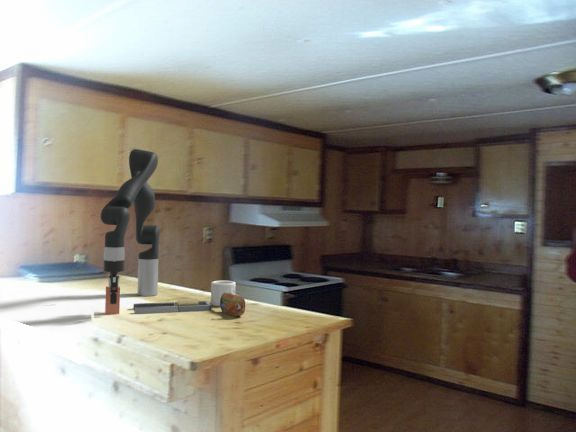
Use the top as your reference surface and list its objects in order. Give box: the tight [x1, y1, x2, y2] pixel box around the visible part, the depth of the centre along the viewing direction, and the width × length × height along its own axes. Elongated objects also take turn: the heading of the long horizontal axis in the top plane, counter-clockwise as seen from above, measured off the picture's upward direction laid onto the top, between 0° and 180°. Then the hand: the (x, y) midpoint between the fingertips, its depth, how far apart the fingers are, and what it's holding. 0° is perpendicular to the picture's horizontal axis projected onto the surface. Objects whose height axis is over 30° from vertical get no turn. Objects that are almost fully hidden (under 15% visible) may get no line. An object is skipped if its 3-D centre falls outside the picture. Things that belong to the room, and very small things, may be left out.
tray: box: [174, 300, 213, 313], centre depth 199 cm, size 10×13×3 cm
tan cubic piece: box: [176, 298, 189, 307], centre depth 198 cm, size 4×4×4 cm
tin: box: [220, 293, 246, 317], centre depth 195 cm, size 15×3×8 cm, turn 40°
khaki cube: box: [186, 298, 199, 306], centre depth 199 cm, size 4×4×4 cm
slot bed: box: [132, 301, 179, 315], centre depth 194 cm, size 10×16×3 cm, turn 112°
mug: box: [210, 280, 237, 308], centre depth 216 cm, size 14×11×10 cm
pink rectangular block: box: [104, 285, 121, 316], centre depth 186 cm, size 4×5×11 cm
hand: (113, 301), depth 186 cm, fingers open, 7 cm apart
